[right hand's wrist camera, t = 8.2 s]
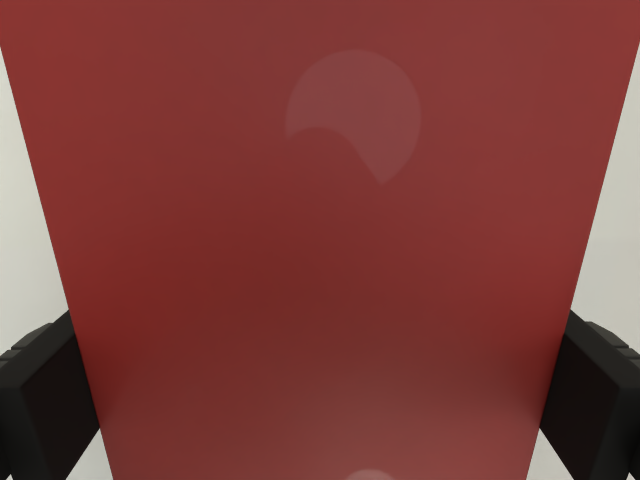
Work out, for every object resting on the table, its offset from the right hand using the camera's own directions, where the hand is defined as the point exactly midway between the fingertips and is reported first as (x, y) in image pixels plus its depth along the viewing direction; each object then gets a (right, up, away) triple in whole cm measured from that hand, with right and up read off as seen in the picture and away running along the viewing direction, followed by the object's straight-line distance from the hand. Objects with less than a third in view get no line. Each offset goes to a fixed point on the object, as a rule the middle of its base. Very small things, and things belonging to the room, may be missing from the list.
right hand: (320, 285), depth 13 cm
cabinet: (0, +6, +5) cm, 8 cm away
